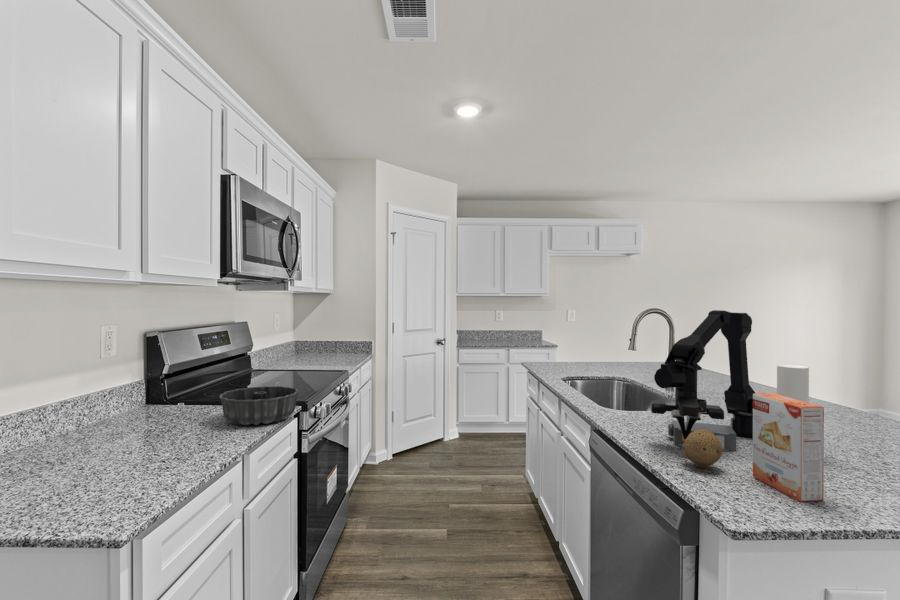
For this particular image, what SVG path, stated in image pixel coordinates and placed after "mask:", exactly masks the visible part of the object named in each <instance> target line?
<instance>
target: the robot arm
mask: <svg viewBox="0 0 900 600" xmlns="http://www.w3.org/2000/svg"><path fill="white" fill-rule="evenodd" d="M752 325H753V319H752V317H751V316H750V315H749V314H748V313H747V312H731V311H727V310H723V309H721V310H720V309H719V310H717V309H715V310H711V311H709V312H708V314H707V316H706V317H705V318H704V320H703V321H702V322H700V324H699V325H698V326H697V327H696V329H694V331H693V332H692V333H691V334H690V335H688V336H686V337H683V338H680V339H679V340H677V341H676V342H675V343H674V344H673V345H672V347H671V349H670V351H669V353H668V355H667V357H666V359H665V361H664V363H661V364H660V368H658V369H657V370H656V371H655V374H654V376H653V378H654V382H655V384H656V385H657V386H658V387H659V388H661V389H673V388H675V389H674V396H675V397H674V404H667V402H666V401H663V400H654V399H653V400H651V401H650V411H651V414H657V415H664V414H665V413H667V412H671V413H670V414H671V417H672V418H673V419H676V421H678V422H679V425H680V428H681V431H682V434H683V437H684V439H686V438H687V437H688V435H689V434H690V431H691V429H692V427H693V425H694V423H697V421H701V420H702V418H701V416H702V415H706V416H709V417H710V419H714V420H725V411H724V410H723V408H722V407H720V405H713V404H712V405H711V404H707V399H703V398H702V399H701V398H698V371H702V366H700V365H699V363H700V362H701V360H702V359H703V357H704V355H705V353H706V350H705V349H706V348H705V347H706V346H707V344H709V342H710V341H711V340H712V339H713V338H714V337H715V335H717V333H718V332H719V331H721V334H722V335H723V337H724V338H725V339H726V340H727V349H728V350H727V351H728V363H729V364H728V365H729V374H730V375H729V376H730V385H729V387H728V388H727V389H726V390H724V392H723V394H724V403H725V407H726V412H727V414H731V415H732V417H730V426H731V428H732V429H733V430H734V432H735V433H736V437H743V438H753V394H755V393H756V392H755V390H754V389H753V388H752V386H751V385H750V379H749V365H748V352H747V339H748V337H749V335H750V334H751V333H752ZM685 417H686V421H685ZM684 422H686V430H685V423H684Z"/></svg>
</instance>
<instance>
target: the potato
mask: <svg viewBox="0 0 900 600" xmlns="http://www.w3.org/2000/svg"><path fill="white" fill-rule="evenodd" d="M681 451H682V454H683V455H684V457H685V458H686V459H687V460H689V461H690V462H691V463H692V464H693V465H695V466H696V467H699V468H700V469H706V468H709V467H711V466H713V465H714V464H716V463H717V462H718V461H719V460H721V458H722V456H723V451H722V445H721V443H720V441H719V439H718V438H717V437H716V436H715V435H714V434H713V433H712V432H710V431H707V430H703V429H698V430H695V431H693V432H691V433H690V434H689V435H688V437H687V438H686V440H685V442H684V443H683V446H681Z"/></svg>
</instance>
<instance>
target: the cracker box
mask: <svg viewBox="0 0 900 600" xmlns="http://www.w3.org/2000/svg"><path fill="white" fill-rule="evenodd" d="M824 408H825V407H824V406H822V405H818V404H814V403H812V402H809V403H808V402H804V401H800V400H797V399H793V398H790V397H786V396H782V395H779V394H777V393H775V392H755V394H753V437H752V477H753V478H755V479H757V480H759V481H761V482H762V483H765V484H767V485H768V486H770V487H772V488H774V489H776V490H778V491H780V493H783V494H785V495H787V496H789V497H791V498H793V499H794V500H796V501H798V502H800V503H802V502H803V503H804V502H818V501H819V502H820V501H824V495H825V494H824V486H825V485H824V480H825V479H824V478H825V477H824V475H825V474H824V473H825V472H824V471H825V469H824V468H825V467H824V463H825V462H824V460H825V459H824V456H825V452H824V451H825V449H824V447H825V446H824V445H825V443H824V442H825V435H824V434H825V425H824V424H825V422H824V421H825V418H824V417H825V409H824Z"/></svg>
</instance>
